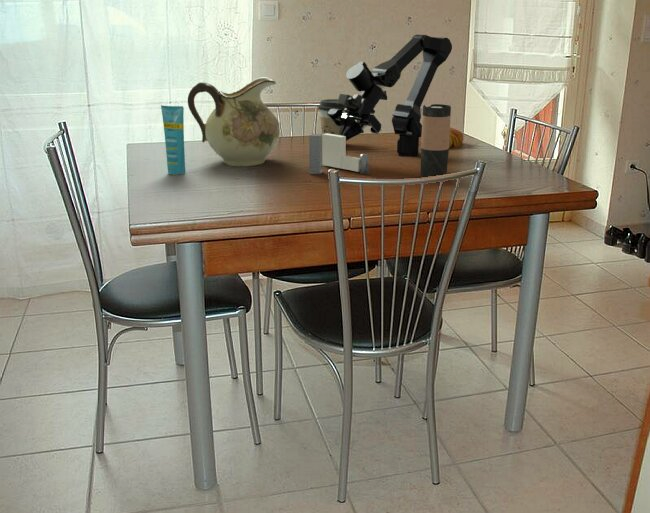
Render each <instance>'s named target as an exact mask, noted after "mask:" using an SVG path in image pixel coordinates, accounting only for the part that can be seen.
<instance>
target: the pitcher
mask: <svg viewBox="0 0 650 513" xmlns="http://www.w3.org/2000/svg"><path fill="white" fill-rule="evenodd" d="M276 84H277V83H276V81H275V80H274V79H272V78H270V77H267V76H262V77H258V78H255V79H254V80H251V82H249V83H247V84H246V85H245V86H243V87H242V88H239V89H238V90H236V91H234V92H231V93H227V92H223V91H222V90H218V88H216V87H215V86H214V85H213V84H210V83H207V82H205V81H199V82H198V83H197V84H195V85H194V86H193V87H192V88H191V89H190V91H189V93H188V95H187V106H188V108H189V112H190V113H191V115H192V116H193V118H194V119H195V121H196V123H197V124H198V127H199V128H200V132H201V135H202V138H201V139H202V140H201V142H202V143H205V142H208V144H209V146H210V147H211V150H213V152H214V153H215V154H217V155H218V156H219V157H220V158H221V159H222V160H223V163H224V164H225V165H228V166H232V167H254V166H260V165H262V164H265V161H266V158H267V157H268V155H270V153H272V151H273V150H274V149H275V147H276V145H277V143H278V142H279V139H280V134H281V128H280V122H279V120H278V118H277V117H276V115H275V113H273V111H272V110H271V109H270V108H269V107H268V106H267V105H266V104H265V103H264V102H263V99H261V93H262V92H263V91H264V89H267V88H268V87H270V86H274V85H276ZM205 92H206V93H207V94H209V95H210V96H211V98H212V100H213V101H214V104H215V108H214V109H213V110H212V111H211V113H210V114H209V115H208V117H207V119H206V122H204V121H203V118H202V117H201V116H200V114H199V112H198V110H197V108H196V105H195V98H196V96H197V95H198V94H199V93H205Z"/></svg>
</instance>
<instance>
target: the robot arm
mask: <svg viewBox="0 0 650 513" xmlns="http://www.w3.org/2000/svg"><path fill="white" fill-rule="evenodd" d="M452 49H453V45H452V42H451V40H450V38H448V37H437V36H429V35H428V34H419V33H418V34H414V35H412V37H411V39H410V40H409V41H408V42H407V43H406V44H405V45H404V46H403V47H402V48H401V49H399V51H398V52H397V53H395V54H394V56H393V57H391V58H390V59H389V60H386V61H383V62H381V63H380V64H377V65H376V66H375V67H373V68H372V70H371V69H369V67H368V65H367V63H366V62H365V61H359V62H358V63H357V64H355V65H352V66H351V67H350V68H349V69H348V70H347V72H346V73H345V76H346V78H347V80H348V81H349V83H350V84H351V85H352V86H353V87H354V88H355V90H356V91H357V92H360V94H356V93H354V94H353V95H350V94H345V93H339V95H338V98H337V99H338V101H337V105H340V106H342V107H344V108H345V109H344V110H345V112H347V113H348V114H346V113H343V111H342V110H341V109H335V108H333V109H330V110H329V112H328V113H327V115H328V116H329V117H330V118H331V120H332V121H333V122H334V123H335V124H336V125H337V126H339V127H341V128H340V132H339V135H341V136H346V142H347V141H349V140H351V139H352V138H354V137H356V136H358V135H360V134H364V133H365V131H364V129H365V128H366V127H367V126H368V127H370V133H372V134H376V135H378V134H379V133H380V131H381V130H382V123H381V122H380V121H379V119H378V118H377V117H376V116H375V115H374V114H375V113H376V111H375V108H376V106H377V104H378V103H379V101H380V100H383V101H387V100H388V95H387V90H383V88H393V87H394V86H395V85H396V84H397V82H398V81H399V80H400V78H401V77H402V76H401V75H402V72H403V71H404V69H405V68H407V67H408V66H409V64H411V62H412V61H413V60H415V59H416V58H417V57H418V56H419V54H421V53H422V59H423V61H422V63H421V66H420V68H419V70H418V73H417V75H416V78H415V79H414V81H413V84H412V86H411V89H410V91H409V93H408V94H407V95H408V96H407V97H406V100H405V101H404V102H403V103H402V104H401V103H398V104H396V106H395V109H394V111H393V113H392V114H391V116H392V118H391V123H392V124H391V125H392V128H393V131H394V135H398V138H397V139H396V153H397V155H398V156H400V157H401V156H405V157H406V156H408V157H410V156H412V157H414V156H416V157H418V156H419V155H420V153H419V150H420V146H419V145H420V144H419V143H420V138H421V135H422V122H421V120H422V119H421V118H422V110H421V106H422V104H423V102H424V100H425V98H426V95H427V93H428V91H429V88H430V86H431V84H432V81H433V79H434V77H435V75H436V73H437V70H438V68H439V67H440V66H441V65H442V64H443V63H445V62H446V61H447V60H448V57H449V56H450V54H451V52H452ZM382 87H383V88H382Z"/></svg>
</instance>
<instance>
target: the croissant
mask: <svg viewBox="0 0 650 513" xmlns="http://www.w3.org/2000/svg"><path fill="white" fill-rule="evenodd" d="M463 141H464V134H463V133H462V132H461V131H460V130H458V129H456V128H453V127H451V126H450V138H449V149H457V148H460V146H462V145H463V143H464V142H463Z"/></svg>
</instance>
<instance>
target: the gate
mask: <svg viewBox="0 0 650 513" xmlns="http://www.w3.org/2000/svg"><path fill="white" fill-rule="evenodd" d="M321 134H322V133H321ZM346 145H347V141H346V136H341V135H335V134H328V133H326V134H322V166H326V167H331V168H336V169H341V170H342V169H343V170H349V171H352V172H357V173H360V157H355V156H349V155H347V153H346V152H347V151H346V149H347V148H346V147H347V146H346Z"/></svg>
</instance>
